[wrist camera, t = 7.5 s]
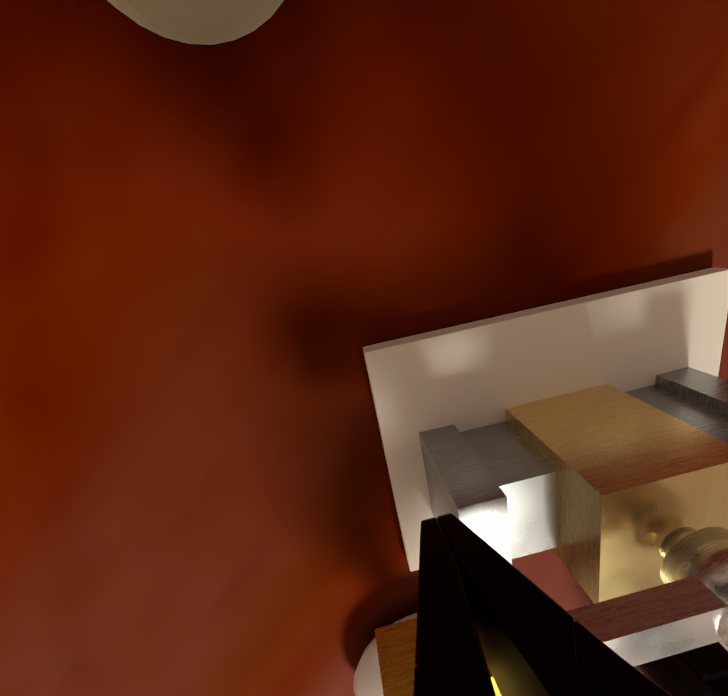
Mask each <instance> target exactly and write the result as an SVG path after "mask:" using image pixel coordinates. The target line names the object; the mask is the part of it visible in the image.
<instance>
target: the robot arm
mask: <svg viewBox="0 0 728 696" xmlns="http://www.w3.org/2000/svg"><path fill="white" fill-rule="evenodd" d="M486 662H487V663H486ZM487 665H488V667H489V669H490V671H491V673H492V676H493V678H494V680H495V682H496V684H497V687H498V689H499V691H500V693H501V695H502V696H728V651H727V650H726V649H725V648H724V647H723V646H722V645H721V644H720V643H719V642H716V643H712V644H709V645H706V646H702V647H699V648H695V649H692V650H689V651H685V652H682V653H678V654H675V655H671V656H668V657H665V658H661V659H658V660H654V661H651V662H648V663H644V664H641V665H637V666H634V667H633V666H632V665H631V664H629V663H628V662H627V661H625V660H624V659H623V658H622V657H620V656H619V655H618V654H617V653H615V652H614V651H613V650H612V649H611V648H609V647H608V646H607V645H606V644H605V643H603V642H602V641H601V640H600V639H598V638H597V637H596V636H595V635H594V634H593V633H591V632H590V631H589V630H588V629H587V628H586V627H584V626H583V625H582V624H581V623H580V622H579V621H577V620H576V621H575V622H574V618H573V616H571V615H570V614H569V613H568V612H567V611H566V610H564V609H563V608H562V607H561V606H560V605H559V604H557V603H556V602H555V601H554V600H553V599H552V598H550V597H549V596H548V595H547V594H546V593H545V592H543V591H542V590H541V589H540V588H539V587H538V586H536V585H535V584H534V583H533V582H532V581H531V580H529V579H528V578H527V577H526V576H525V575H524V574H522V573H521V572H520V571H519V570H518V569H517V568H515V567H514V566H513V565H512V564H511V563H510V562H508V561H507V560H506V559H505V558H504V557H503V556H501V555H500V554H499V553H498V552H497V551H496V550H494V549H493V548H492V547H491V546H490V545H489V544H487V543H486V542H485V541H484V540H483V539H482V538H480V537H479V536H478V535H477V534H476V533H475V532H473V531H472V530H471V529H470V528H469V527H468V526H466V525H465V524H464V523H463V522H462V521H461V520H459V519H458V518H457V517H456V516H455V515H453V514H452V513H448V514H444V515H440V516H438V517H437V519H436V518H435V517H433V518H429V519H425V520H422V521H421V528H420V552H419V576H418V600H417V624H416V648H415V666H416V667H415V668H414V691H413V696H496V694H495V691H494V687H493V684H492V681H491V677H490V674H489V670H488V667H487ZM640 671H642V672H643V673H644V674H643V673H641V672H640Z"/></svg>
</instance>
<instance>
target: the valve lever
mask: <svg viewBox="0 0 728 696" xmlns="http://www.w3.org/2000/svg"><path fill="white" fill-rule="evenodd" d="M660 554H661V556H662V557H663V558H664V559H663V561H662V564H661V568H660V576H661V580H662V582H663V583H664V584H662V585H659V586H655V587H652V588H648V589H645V590H641V591H638V592H634V593H630V594H627V595H623V596H620V597H616V598H613V599H609V600H606V601H602V602H598V603H595V604H591V605H588V606H584V607H581V608H577V609H574V610H570V611H567V612H568V613H569V614H570V615H571V616H573V618H574V622H575V621H576V620H577V621H579V622H580V623H581V624H582V625H583V626H584V627H586V628H587V629H588V630H589V631H590V632H591V633H593V634H594V635H595V636H596V637H597V638H598V639H600V640H601V641H602V642H603V643H605V644H606V645H607V646H608V647H609V648H611V649H612V650H613V651H614V652H615V653H617V654H618V655H619V656H620V657H622V658H623V659H624V660H625V661H627V662H628V663H629V664H631V665H632V666H633V667H634V666H637V665H641V664H644V663H648V662H651V661H654V660H658V659H661V658H665V657H668V656H671V655H675V654H678V653H682V652H685V651H689V650H692V649H695V648H699V647H702V646H706V645H709V644H712V643H716V642H719V641H722V642H723V643H724V644H725V645H726V646H728V530H727V529H725V528H722V527H706V528H702V529H699V530H695V529H694V528H692V527H681V528H678V529H676V530H674V531H672V532H671V533H670V534H668V535H667V536H666V537H665V538H664V540H663V541H662V543H661V545H660ZM416 624H417V618H413V619H409V620H406V621H402V622H398V623H395V624H391V625H388V626H384V627H380V628H377V629H374V630H375V637H376V644H377V651H378V659H379V666H380V673H381V681H382V688H383V695H384V696H413V691H414V668H415V667H416V666H415V648H416ZM486 663H487V662H486ZM487 667H488V665H487ZM488 670H489V674H490V677H491V681H492V684H493V687H494V691H495V694H496V696H502V695H501V693H500V691H499V689H498V687H497V684H496V682H495V680H494V678H493V676H492V673H491V671H490V669H489V667H488Z"/></svg>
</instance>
